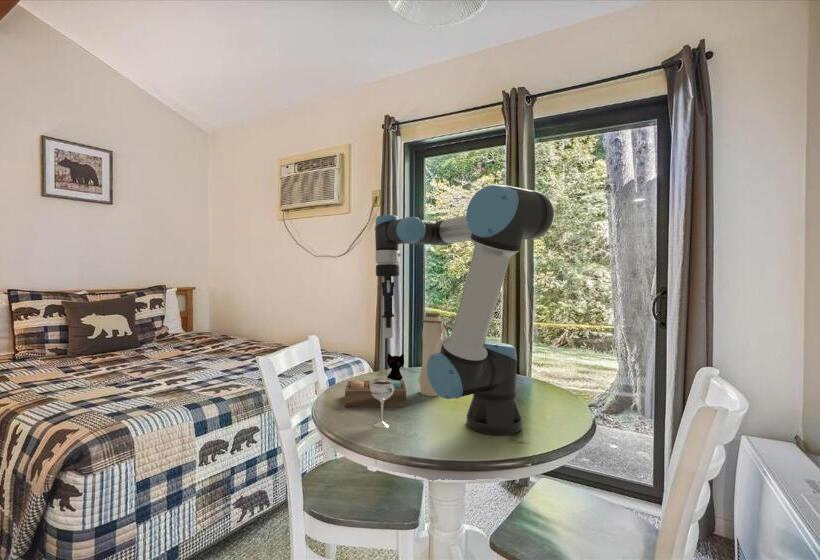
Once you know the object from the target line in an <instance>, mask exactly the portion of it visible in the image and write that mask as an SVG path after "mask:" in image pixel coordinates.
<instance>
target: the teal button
mask: <svg viewBox="0 0 820 560" xmlns="http://www.w3.org/2000/svg"><path fill="white" fill-rule="evenodd" d="M393 385H394V388H401V382H400V381H394V383H393Z"/></svg>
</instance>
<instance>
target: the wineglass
mask: <svg viewBox="0 0 820 560" xmlns="http://www.w3.org/2000/svg"><path fill="white" fill-rule="evenodd" d="M369 381H370V382H371V384H372V385H371V386H370V392H371V395H372V396H373V397H374V398H375V399H377V400H379V401H380V402H381V407H380V419H381V420H380V421H376V422H373V424H372V426H373V427H375V428H381V429H384V428H389V427H391V425H392V424H391V422H389V421H385V420H384V407H383V405H384V402H385V400H387V399H389V398H390V397H391V396H392V395H393V393H394V385H393V383H394V380H392V379H390V378H389V379H388V378H387V377H385V378H381V377H380V378H374V379H371V380H369Z"/></svg>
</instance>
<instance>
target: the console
mask: <svg viewBox="0 0 820 560" xmlns="http://www.w3.org/2000/svg"><path fill="white" fill-rule="evenodd" d="M353 381H354V380H348V381H347V384H346V386H345V390H344V408H357V407H356V406H364V407H363V408H366V407H365V406H368V407H367V408H377V407H378V408H381V402H380V401H379V400H377V399H375V398H374V397H373V396H372V395H371V392H370V388H369V382H370V381H371V380H362V381H363V382H364V388H351V382H353ZM394 381H400V382H401V388H394V393H393V395H392V396H391V397H390V398H389V399H387V400H385V402H384V405H383V408H388V407H389V408H390V407H393V408H394V407H407V389H406V388H407V387H406V383H405V380H403V379H401V380H394ZM351 406H352V407H351ZM369 406H370V407H369Z"/></svg>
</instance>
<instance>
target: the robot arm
mask: <svg viewBox="0 0 820 560" xmlns="http://www.w3.org/2000/svg"><path fill="white" fill-rule="evenodd" d="M467 205H468V206H467V208H466V213H465V215H462V216H457V217H452V218H447V219H443V220H428V219H427V220H426V219H420V218H419V217H416V216H406V217H403V218H399V217H398V215H395V214H384V215H382V214H381V215H378V216H376V218H375V227H374V232H375V263H376V264H377V265H376V266H375V277H383V282H381V288H382V296H383V315H381V317H382V318H383V339H393V336H394V333H393V332H394V330H393V325H394V323H393V318H394V317H395V314H394V312H393V296H394V288H395V282H394V281H393V280H392V277H399V276H400V265H399V263H400V257H401V256H402V254H401V253H400V245H403V244H404V245H405V244H406V245H407V244H411V245H412V244H413V245H433V246H442V247H443V246H451V245H453V244H454V243H464V242H471V243H472V244H473V246H474V248H473V252H472V257H471V260H470V263H469V267H468V271H467V273H466V278H465V281H464V285H463V288H462V293H461V296H460V300H459V304H458V308H457V311H456V315H455V319H454V322H453V326H452V328H451V329H452V330H451V334H450V335H449V337H447V338H445V339H444V340H443V343H442V347H441V350H440V353H435V354H433V355H431V356H430V358H429V359H428V362H427V375H428V379H429V381H430V384H431V386H432V388H433V390H434V391H435V392H436V393H437V394H438V395H439V397H441V398H442V399H444V400H445V399H446V400H451V399H452V400H453V399H460V398H462V397H466V396H470V395H472V399H471V402H470V404H469V406H468V410H467V412H466V426H467V427H468V428H469V429H471V430H473V431H475V432H478V433H481V434H485V435H491V436H492V435H493V436H509V435H515V434H517V433H519V432H520V431H521V430H522V428H523V418H522V414H521V412H520V408H519V405H518V402H517V368H518V367H517V366H518V365H517V363H518V358H517V350H516V349H517V348H516V346H514V345H512V344H508V343H504V342H498V341H492V340H491V341H490V340H486V339H487V337H488V334H489V330H490V326H491V322H492V320H493V316H494V313H495V311H496V310H495V309H496V307H497V303H498V300H499V296H500V292H501V290H502V287H503V283H504V280H505V277H506V272H507V269H508V267H509V264H510V260H511V257H512V256H514V255H515V254H517V253H519V252H520V250H521V247H522V243H523V240H535V239H538V238H540V237H543V236H544V235H545V234H546V233H547V232H549V230H550V229H551V228H552V226H553V224H554V221H555V209H554V208H555V207H554V205H553V203H552V202H551V200H550V198H549V197H548V196H546V195H545V194H544V193H542V192H540V191H538V190H533V189H526V188H521V187H515V186H510V185H509V184H507V185H505V184H488V185H485V186H483V187H482V188H481V189H479V190H477V192H475V193H474V194H473V196H472V197H471V199H470V201H469V203H468V204H467Z"/></svg>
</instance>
